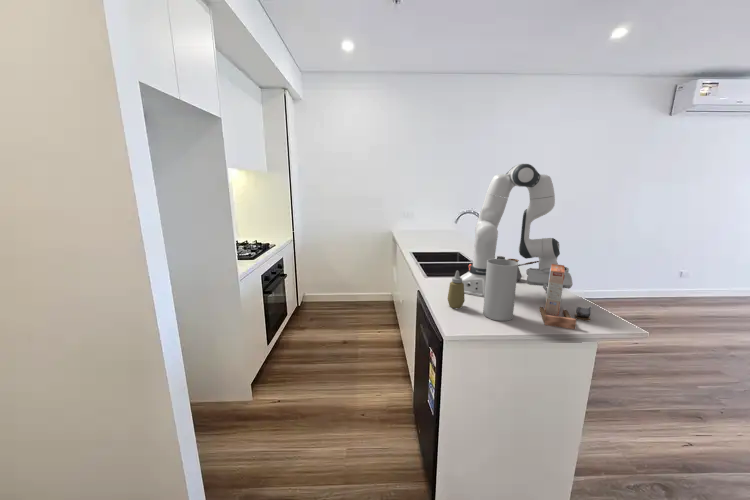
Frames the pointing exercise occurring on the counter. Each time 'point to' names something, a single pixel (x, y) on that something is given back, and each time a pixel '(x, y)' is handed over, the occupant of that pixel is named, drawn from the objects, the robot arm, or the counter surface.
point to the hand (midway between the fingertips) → (549, 293)
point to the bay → (558, 319)
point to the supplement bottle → (500, 257)
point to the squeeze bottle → (456, 292)
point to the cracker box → (554, 289)
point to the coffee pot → (521, 265)
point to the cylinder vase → (500, 289)
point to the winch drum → (583, 313)
